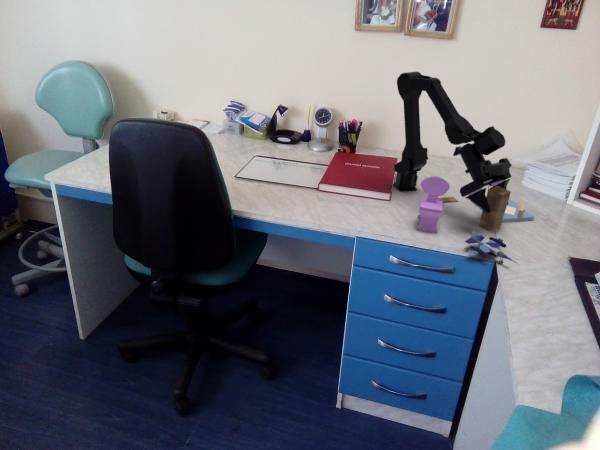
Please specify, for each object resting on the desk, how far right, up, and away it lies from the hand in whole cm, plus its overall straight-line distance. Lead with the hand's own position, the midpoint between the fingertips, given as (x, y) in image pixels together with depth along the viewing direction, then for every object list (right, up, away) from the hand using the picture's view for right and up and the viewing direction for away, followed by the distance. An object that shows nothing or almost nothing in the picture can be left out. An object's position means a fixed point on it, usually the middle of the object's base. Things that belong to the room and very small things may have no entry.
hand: (498, 208), depth 140 cm
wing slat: (-10, +3, +19) cm, 22 cm away
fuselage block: (-1, -5, +4) cm, 7 cm away
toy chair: (-20, -5, +3) cm, 21 cm away
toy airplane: (-7, -14, -11) cm, 19 cm away
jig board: (+7, 0, +15) cm, 17 cm away
